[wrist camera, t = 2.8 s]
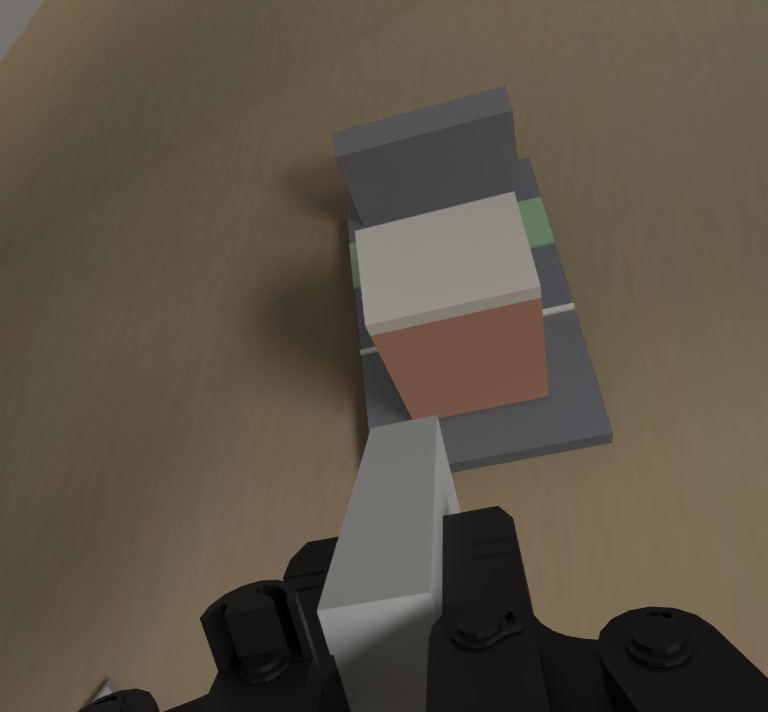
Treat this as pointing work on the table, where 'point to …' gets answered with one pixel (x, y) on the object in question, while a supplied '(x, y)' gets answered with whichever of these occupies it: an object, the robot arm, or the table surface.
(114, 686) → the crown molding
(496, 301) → the orange box with lid
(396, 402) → the base
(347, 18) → the table surface
